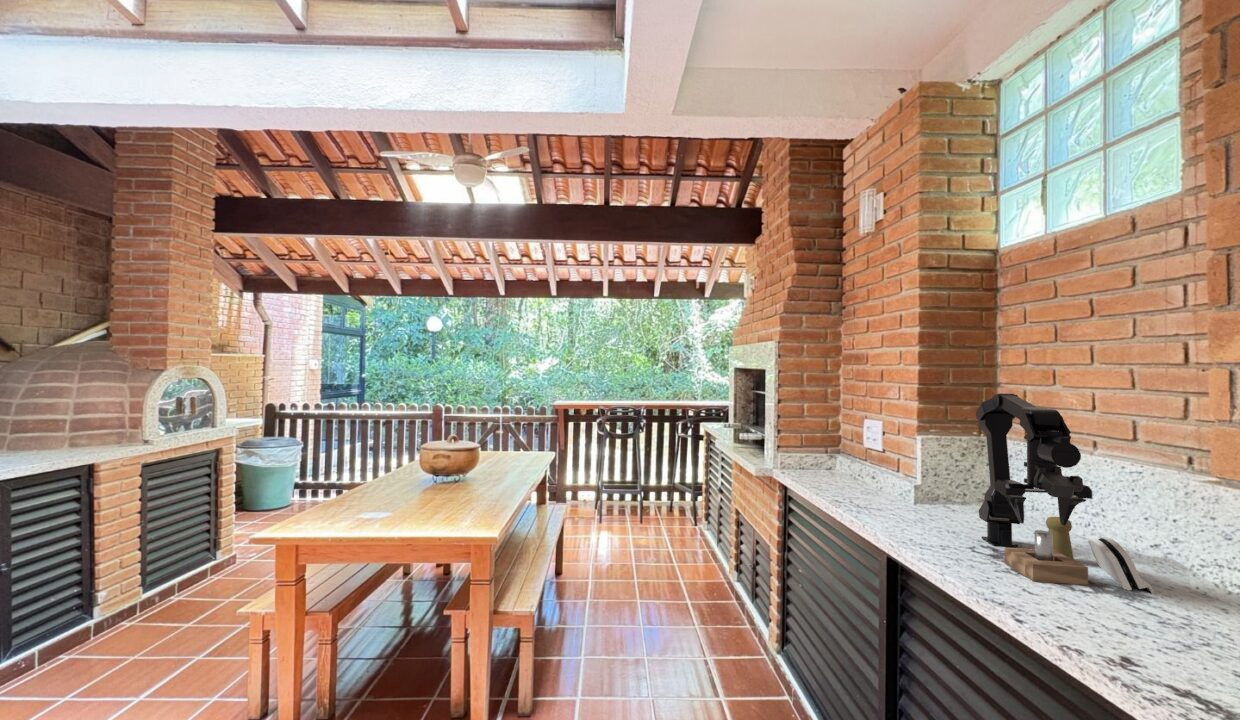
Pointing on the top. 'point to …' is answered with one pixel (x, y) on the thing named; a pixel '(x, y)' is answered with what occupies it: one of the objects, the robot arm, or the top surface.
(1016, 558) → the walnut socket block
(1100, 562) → the grey black curved wedge
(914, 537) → the top surface
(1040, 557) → the grey metal peg
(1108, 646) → the top surface
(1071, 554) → the cork
